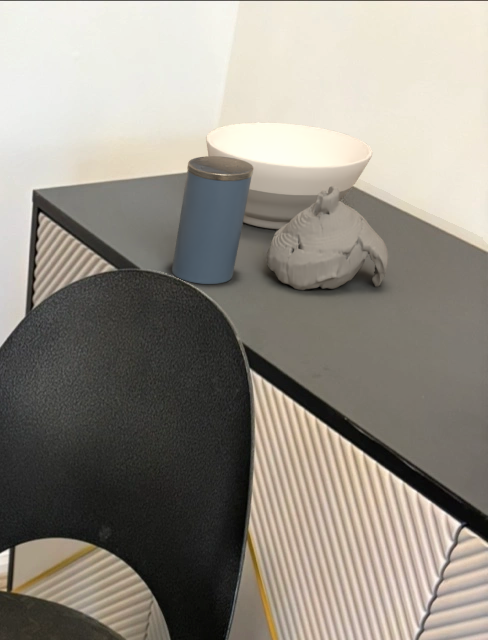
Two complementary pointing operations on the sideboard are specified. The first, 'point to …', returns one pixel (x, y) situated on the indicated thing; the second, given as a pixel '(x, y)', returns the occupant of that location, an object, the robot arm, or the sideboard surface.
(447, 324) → the sideboard surface
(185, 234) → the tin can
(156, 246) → the sideboard surface
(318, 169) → the bowl
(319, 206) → the grey clay mound
